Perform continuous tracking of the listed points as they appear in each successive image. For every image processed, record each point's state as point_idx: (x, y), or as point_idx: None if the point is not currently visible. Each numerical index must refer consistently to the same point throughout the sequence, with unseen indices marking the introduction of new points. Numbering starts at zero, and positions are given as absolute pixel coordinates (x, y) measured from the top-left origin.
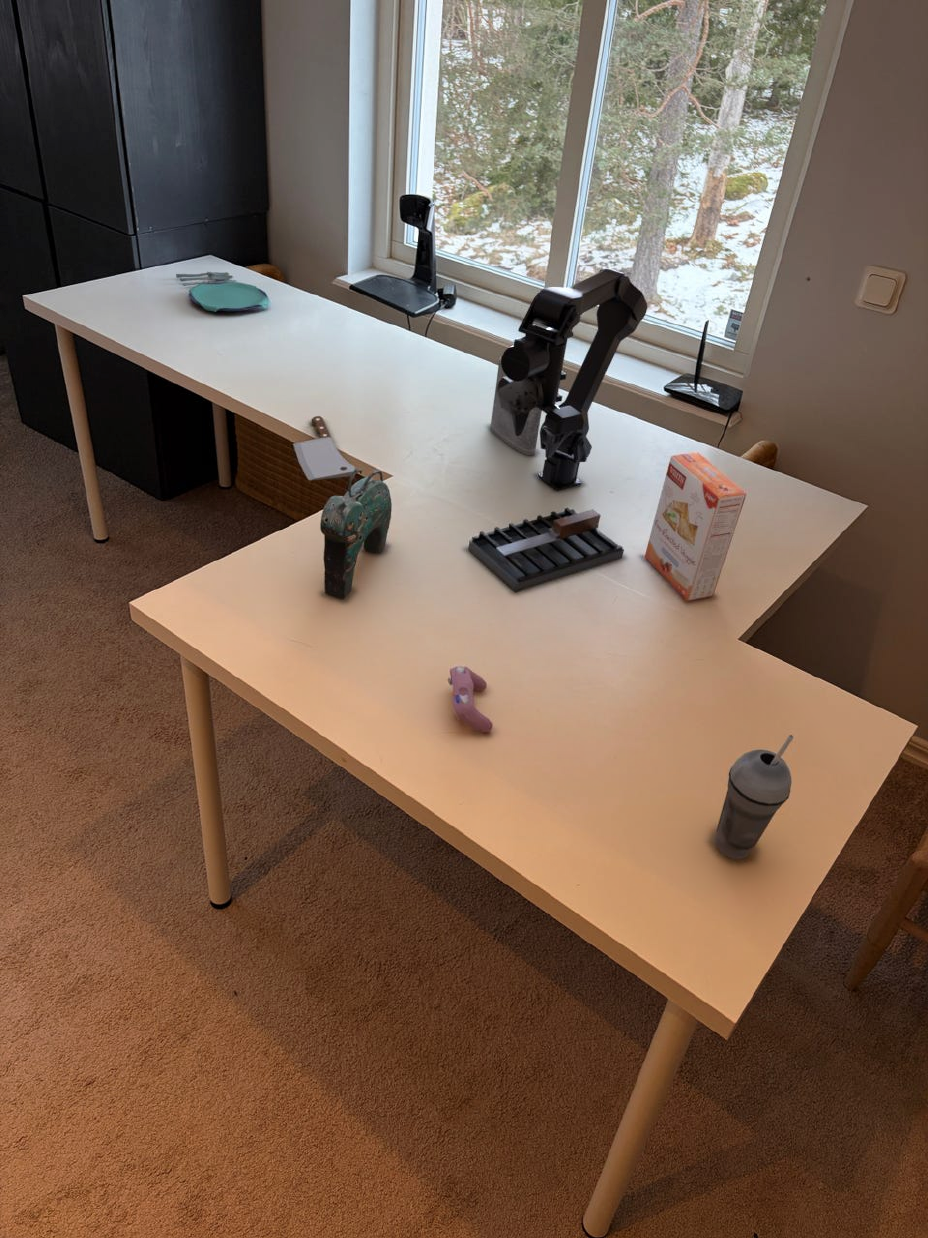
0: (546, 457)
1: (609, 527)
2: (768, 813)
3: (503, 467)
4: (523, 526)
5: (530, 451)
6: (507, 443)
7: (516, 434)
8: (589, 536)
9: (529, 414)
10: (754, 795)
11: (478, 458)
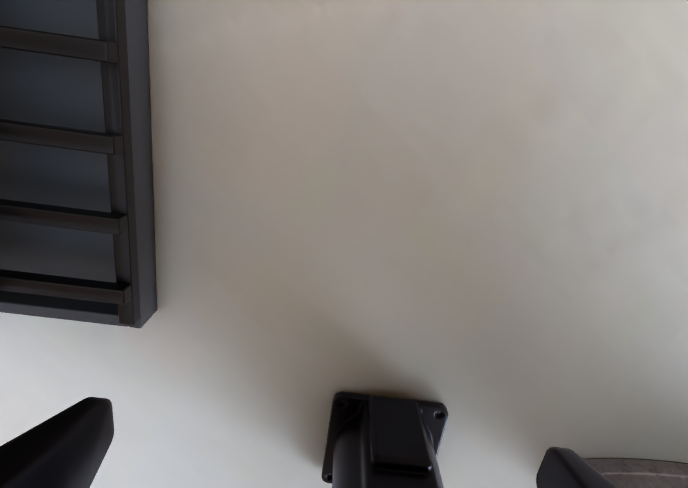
0: (89, 398)
1: (69, 373)
2: None
3: (567, 350)
4: (101, 32)
5: None
6: (660, 461)
7: (559, 455)
8: (13, 270)
9: None
10: None
11: (678, 319)
